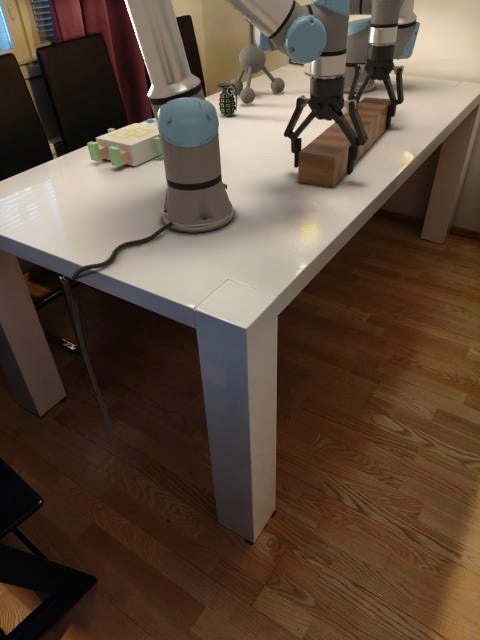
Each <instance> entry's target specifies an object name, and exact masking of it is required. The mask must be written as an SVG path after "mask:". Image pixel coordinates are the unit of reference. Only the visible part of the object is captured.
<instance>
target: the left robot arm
mask: <svg viewBox="0 0 480 640" xmlns="http://www.w3.org/2000/svg"><path fill="white" fill-rule="evenodd" d="M224 1H225V2H226V3H227V4H228V5H230V7H231V8H233V9H234V10H235V11H237V13H238V14H240V15H241V16H242V18H244V17H245V18H246V19H247V20H248V21H249V22H250V23H251V24H252V25H253V30H254V39H255V40H254V41H255V44H256V45H257V47H258V49H259V50H260V51H264V52H270V53H271V52H274V51H279V52H281V53H282V54H284V55H286V56H287V57H288V58H290V59H292V60H291V61H292V62H295V63H301V64H304V63H310V62H311V71H310V73H311V74H312V75H313V76H310V79H309V82H310V83H309V97H306V96H305V95H301V96H299V97H298V98H296V101H295V108H294V110H293V113H292V114H291V117H290V119H289V121H288V123H287V125H286V128H285V129H284V132H283V137H285V138H288V139H290V152H291V154H293V155H294V157H293V168H294V169H296V168H297V169H298V163H299V152H300V151H301V150H302V144H303V143H302V141H303V139H302V137H300V135H301V134H303V132H304V131H305V130H306V129H307V127H308V126H309V125H310V124H311V123H312V121H314V119H317V120H318V121H323V120H325V121H334V123H337V124H338V125H339V127H340V128H341V130H342V131H343V133H344V134H345V136H346V137H347V139H348V140H349V142H350V143H351V145H350V146H349V149H348V162H347V173H346V175H348V176H350V175H351V174H352V173H353V172H354V168H355V167H354V165H355V164H354V160H356V159H357V158H358V156H359V146H360V145H364V144H365V143H366V142H367V141H368V137H367V134H366V131H365V129H364V126H363V123H362V120H361V118H360V115H359V112H358V109H357V100H356V99H353V100H345V98H344V97H345V95H344V94H345V92H344V81H345V77H344V75H342V74H344V73H345V65H346V47H347V35H348V23H349V22H350V17H351V15H349V0H311V3H308V4H305V5H301V4H300V3H298V1H296V0H224ZM124 2H125V5H126V8H127V12H128V14H129V17H130V21H131V24H132V27H133V30H134V32H135V33H134V34H135V36H136V39H137V43H138V45H139V49H140V51H141V55H142V59H143V61H144V65H145V68H146V70H147V74H148V77H149V80H150V84H151V85H150V88H149V89H148V90H149V91H148V93H147V97H148V100H149V103H150V106H151V109H152V112H153V115H154V119H156V122H157V126H158V131H159V134H160V140H161V147H162V153H163V154H162V159H163V168H164V174H165V180H166V190H165V191H166V192H165V196H164V203H163V207H162V218H163V222H164V224H165V225H163V226H162V227H160V228H159V229H157V230H155V232H153V233H152V234H150V235H149V236H147V237H144V238H140V239H135V240H130V241H126V242H123V243H121V244H119V245H118V246H116V247H115V248H114V249H113V250H112V252H111V254H110V256H109V257H108V258H107V259H106V260H104V261H102V262H97V263H92V264H86V265H83V266H81V267H79V268H78V269H77V270H75V272H73V274H72V275H71V278H70V281H75V280H77V278H78V277H79V276H80V275H81V273H82V274H83V272H85V271H89V270H94V269H95V270H96V269H100V268H105V267H106V266H108V265H110V264H111V263H113V261H114V260H115V258H116V256H117V255H118V253H119V252H120V251H121V250H123V249H125V248H127V247H131V246H135V245H141V244H144V243H145V244H146V243H148V242H150V241H152V240H154V239H155V238H157V237H158V236H159V235H160V234H162V233H164V232H165V231H166V230H168V229H171V230H173V231H177V232H180V233H190V234H191V233H192V234H193V233H194V234H195V233H196V234H197V233H205V232H206V233H207V232H210V231H215V230H216V229H220V228H222V227H224V226H226V225H227V224H228V223H230V221H231V220H232V218H233V216H234V212H233V211H234V210H233V204H232V201H231V200H230V197H229V195H228V192H227V190H228V184H227V183H224V182H223V175H222V174H223V173H222V164H221V163H222V161H221V147H220V134H219V127H220V122H219V120H220V119H219V117H218V114H217V109H216V107H215V105H214V104H213V103H212V102H210V101H209V100H207V99H206V98H205V93H204V90H203V86H202V82H201V79H200V78H199V77H198V76H196V75H194V74H193V73H192V72H191V69H190V65H189V61H188V58H187V54H186V51H185V50H186V49H185V46H184V42H183V38H182V35H181V32H180V28H179V25H178V20H177V16H176V14H175V9H174V5H173V1H172V0H124ZM307 105H308V107H309V109H310V110H311V111H310V112H309V114H308V115H307V116H306V117H305V119H304V120H303V121H302V122H301V123H300V125H298V127H297V128H296V130H295V127H296V125H297V123H298V121H299V118H300V117H301V115H302V113H303V111H304V108H305V107H307ZM344 108H345V109H346V111H347V112H348V111H349V115H350V118H351V120H352V123H353V126H354V128H355V131H356V133H355V132H354V130H353V129H352V127H351V126H350V124H349V123H348V121H347V120H346V118H345V115H344V114H345V113H344V112H343V111H342V110H343V109H344ZM294 130H295V131H294ZM356 134H357V135H356ZM71 304H72V312H73V313H72V314H73V320H74V323H75V325H74V326H75V330H76V334H77V338H78V342H79V346H80V349H81V353H82V356H83V359H84V362H85V365H86V369H87V371H88V374H89V377H90V380H91V383H92V386H93V388H94V391H95V394H96V397H97V400H98V402H99V405H100V408H101V411H102V414H103V416H104V420H105V423H106V426H107V429H108V432H109V436H110V439H111V440H114V439H115V438H116V435H115V432H114V430H113V426H112V422H111V420H110V416H109V414H108V410H107V408H106V405H105V402H104V399H103V396H102V393H101V390H100V388H99V385H98V382H97V379H96V376H95V373H94V370H93V367H92V364H91V361H90V357H89V354H88V350H87V347H86V344H85V340H84V335H83V330H82V327H81V326H82V325H81V321H80V316H79V308H78V301H77V300H75V299H71Z"/></svg>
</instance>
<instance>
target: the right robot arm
mask: <svg viewBox="0 0 480 640" xmlns="http://www.w3.org/2000/svg"><path fill="white" fill-rule="evenodd" d="M414 8H415V0H349V16H370V17H366V18H360V19H355V20H351V21H349V23H348V35H347V47H346V65H345V73H344V74H342V75H344V77H345V81H344V93H346V94H347V93H348V96H347V101H351V100H353V99H356V100H357V104H358V103H359V102H360V101H361V98H362V96H363V94H364V93H367V92H371V91H373V90H374V89H375V86H376V81H379V82H382V83H383V84H384V88H385V90H386V93H387V96H388V99H390V102H391V104H390V105H389V106H388V114H387V121H386V130H389V129H390V128H391V124H392V118H394V117H395V116H396V113H397V106H398V105H401V104H403V103H404V101H405V96H404V95H405V94H404V81H403V73H404V67H405V66H403V65H400V66H399V65H395V62H394V60H397V61H399V60H408V59H409V58H411V57H412V55H413V52H414V49H415V45H416V41H417V38H418V33H419V30H420V26H421V22H419V21H417V20H418V16H417V14H416V13H415V11H414ZM288 58H289V57H288ZM288 62H289V63H290V64H292V65H297V66H304V63H299V62H294V61H293V60H292V59H290V58H289V59H288ZM393 71H394V72H393ZM392 72H393V73H394V75H395V87H396V92H395V90H394V87H393V84H392V80H391V76H390V74H391V73H392ZM355 94H356V95H355Z"/></svg>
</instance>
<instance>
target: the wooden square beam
mask: <svg viewBox="0 0 480 640" xmlns="http://www.w3.org/2000/svg"><path fill="white" fill-rule="evenodd" d="M359 101H360V102H359V103H358V104H357V109H358V112H359V115H360V118H361V120H362V123H363V126H364V129H365V131H366V134H367V137H368V141H367V142H366V143H365V144H364V145H360V146H359V156H358V158H357V159H356V160H354V165H355V164H357V162H358V161H359V160H360V159H361V157H362V156H363V155H364V154H366V152H367V151H368V150H369V149H370V148H371V147H372V146H373V145H374V143H376V141H377V140H378V139H379V138H380V137H381V136H382V135H383V134H384V133H385V131H386V130H387V129H386V121H387V114H388V106H389V105H390V104H391V102H390V99H389V98H382V97H381V98H380V97H379V98H378V97H367V96H365V97H364V98H362V99H360V100H359ZM343 114H344V115H345V118H346V120H347V121H348V123H349V124H350V126H351V127H352V129H353V130H354V132H355V133H356V131H355V128H354V126H353V123H352V120H351V118H350V115H349V111H347V112H345V113H343ZM356 135H357V134H356ZM350 145H351V143H350V142H349V140H348V139H347V137H346V136H345V134H344V133H343V131H342V130H341V128H340V127H339V125H338V124H337V123H335V122H333V123H332V124H331V125H330V126H329V127H327V128H326V129H325V130H323V132H321V133H320V134H319V135H318V136H316V137H315V138H313V140H312V141H311V142H309V143H308V144H307V145H306V146H304V147H302V148H301V151H300V152H299V163H298V167H297V170H298V171H297V183H300V184H306V185H312V186H320V187H325V188H331V189H332V188H334V187H335V186H336V185H337V183H339V181H341V180H342V178H343V177H344V176H345V175H347V162H348V149H349V146H350Z"/></svg>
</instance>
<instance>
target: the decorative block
mask: <svg viewBox="0 0 480 640" xmlns="http://www.w3.org/2000/svg"><path fill="white" fill-rule="evenodd" d="M86 145H87V149H88V153H89V157H90V160H91V161H93V162H94V161H95V162H100V161H103V160H107V161H110V164H111V166H114V167H119V168H120V167H122V166H124V165H127V166H132V167H137V166H139V165H141V164H145V163H146V162H148V161H150V160H153V159H155V158H157V157H159V156H161V155H163V153H162V147H161V140H160V134H159V131H158V126H157V122H156V119H155V118H148V119H146V120H144V121H141V122H139V123H138V122H133V123H132V124H128V125H126V126H123V127H121V128H118V129H116V128H113V127H110V128H108V129H107V133H104V134H101V135H99V136H97V137H95V141H89V142H87V143H86Z"/></svg>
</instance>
